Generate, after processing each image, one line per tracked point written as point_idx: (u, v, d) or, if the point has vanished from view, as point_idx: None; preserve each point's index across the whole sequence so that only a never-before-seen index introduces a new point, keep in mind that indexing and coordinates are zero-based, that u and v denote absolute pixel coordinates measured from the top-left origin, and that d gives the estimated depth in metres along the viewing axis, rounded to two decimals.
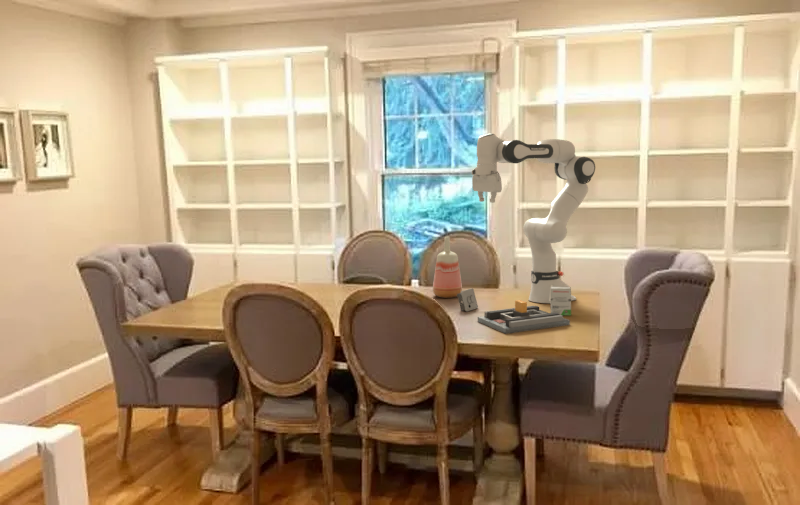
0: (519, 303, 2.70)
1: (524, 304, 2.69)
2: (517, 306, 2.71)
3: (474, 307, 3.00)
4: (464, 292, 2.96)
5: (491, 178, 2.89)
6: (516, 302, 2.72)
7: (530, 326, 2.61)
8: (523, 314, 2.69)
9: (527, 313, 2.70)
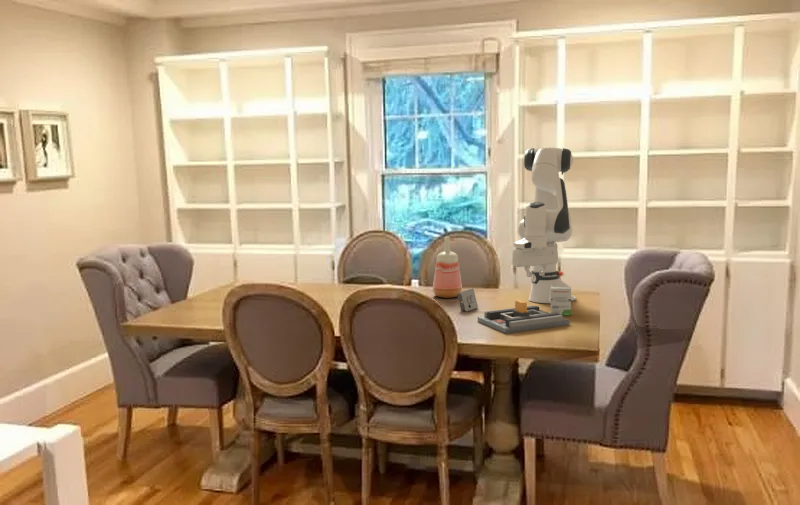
0: (519, 303, 2.70)
1: (524, 304, 2.69)
2: (517, 306, 2.71)
3: (474, 307, 3.00)
4: (464, 292, 2.96)
5: (552, 249, 2.72)
6: (516, 302, 2.72)
7: (530, 326, 2.61)
8: (523, 314, 2.69)
9: (527, 313, 2.70)
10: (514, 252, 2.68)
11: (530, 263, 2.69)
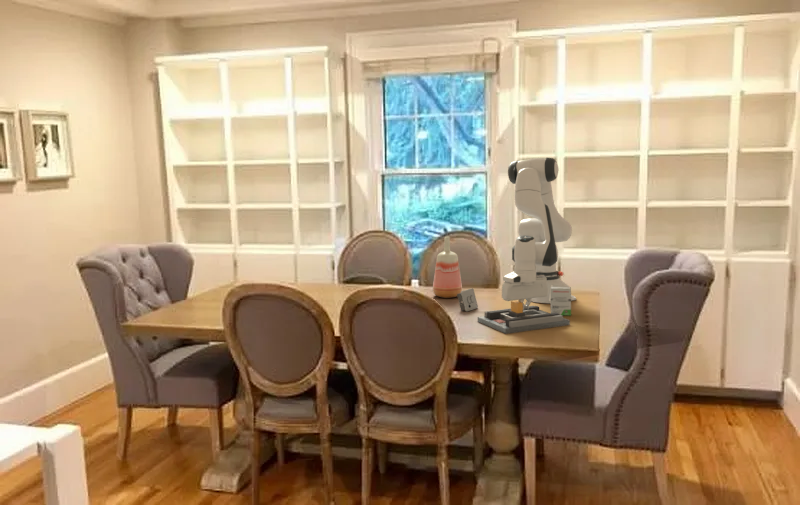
0: (515, 304, 2.69)
1: (520, 305, 2.68)
2: (513, 306, 2.71)
3: (474, 307, 3.00)
4: (464, 292, 2.96)
5: (542, 282, 2.72)
6: (512, 303, 2.71)
7: (530, 326, 2.61)
8: (519, 315, 2.68)
9: (523, 314, 2.69)
10: (503, 286, 2.68)
11: (519, 297, 2.68)
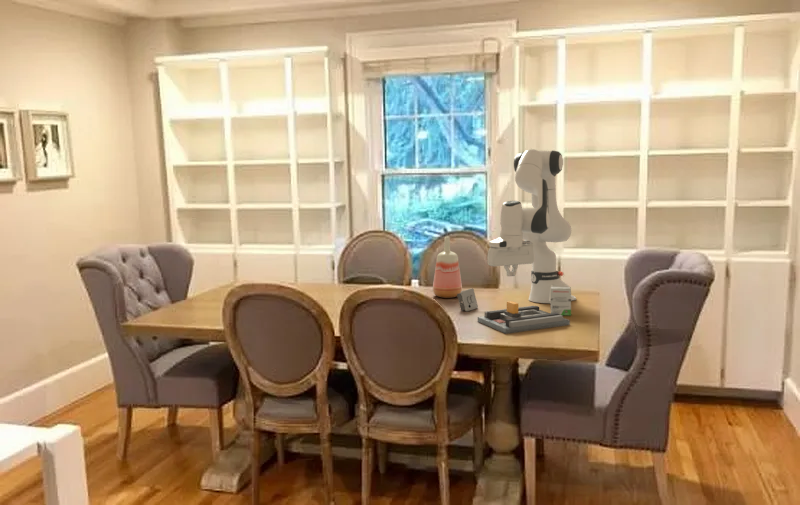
0: (510, 304, 2.69)
1: (515, 305, 2.68)
2: (509, 307, 2.70)
3: (474, 307, 3.00)
4: (464, 292, 2.96)
5: (528, 249, 2.67)
6: (508, 303, 2.71)
7: (530, 326, 2.61)
8: (515, 315, 2.67)
9: (518, 314, 2.68)
10: (489, 251, 2.63)
11: (505, 262, 2.63)
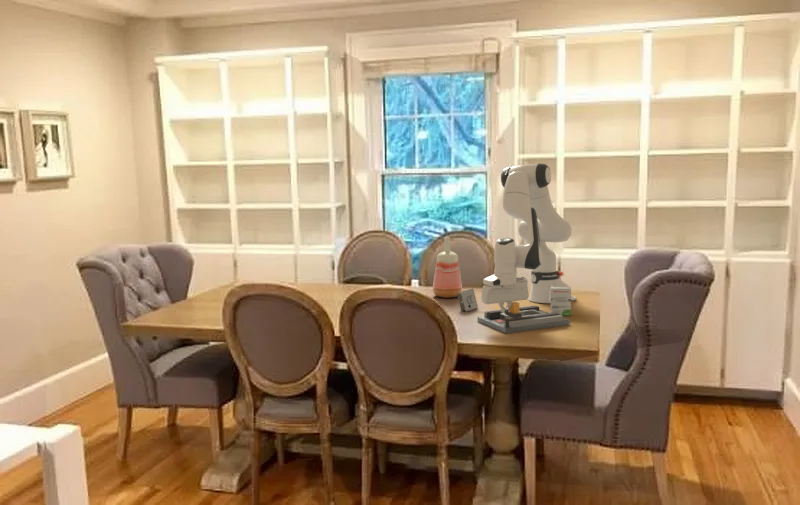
0: None
1: (516, 305, 2.68)
2: (510, 307, 2.70)
3: (474, 307, 3.00)
4: (464, 292, 2.96)
5: (522, 285, 2.69)
6: None
7: (530, 326, 2.61)
8: (516, 315, 2.67)
9: (519, 314, 2.68)
10: (483, 289, 2.65)
11: (499, 300, 2.65)
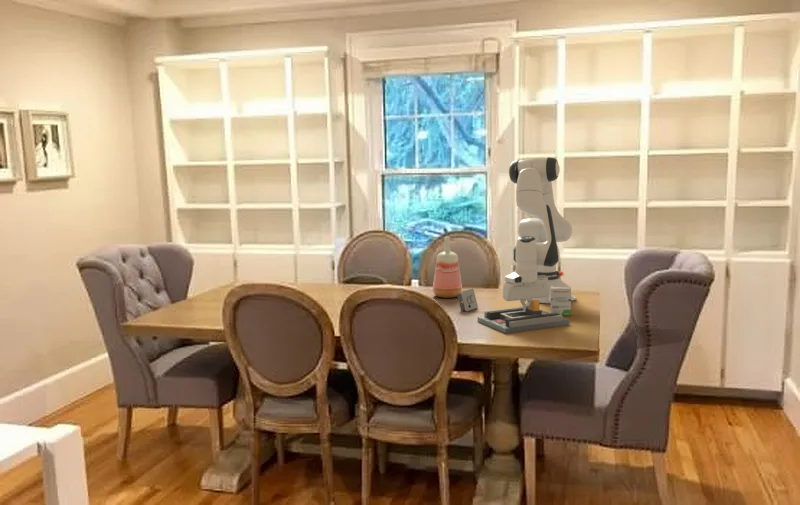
0: (532, 301, 2.72)
1: (537, 302, 2.71)
2: (530, 304, 2.74)
3: (474, 307, 3.00)
4: (464, 292, 2.96)
5: (543, 283, 2.72)
6: None
7: (530, 326, 2.61)
8: (536, 313, 2.71)
9: (540, 311, 2.72)
10: (504, 286, 2.69)
11: (520, 297, 2.69)
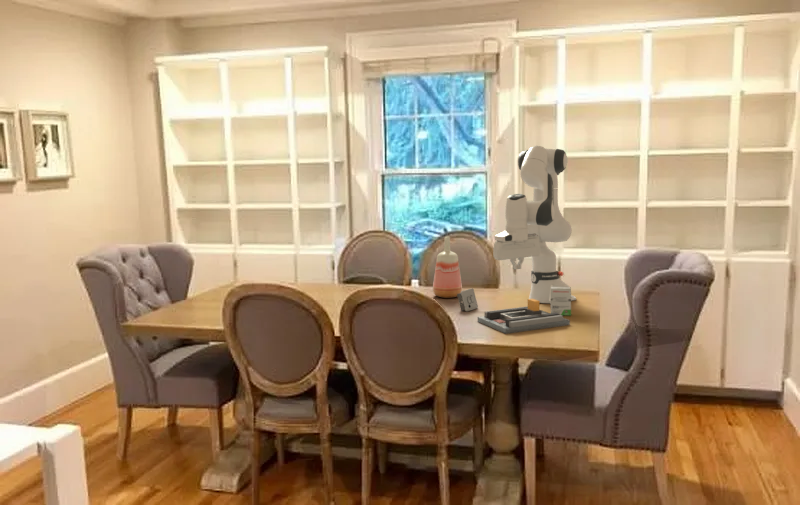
0: (532, 301, 2.72)
1: (537, 302, 2.71)
2: (530, 304, 2.74)
3: (474, 307, 3.00)
4: (464, 292, 2.96)
5: (534, 241, 2.68)
6: (529, 301, 2.74)
7: (530, 326, 2.61)
8: (536, 313, 2.71)
9: (540, 311, 2.72)
10: (495, 245, 2.64)
11: (511, 256, 2.65)
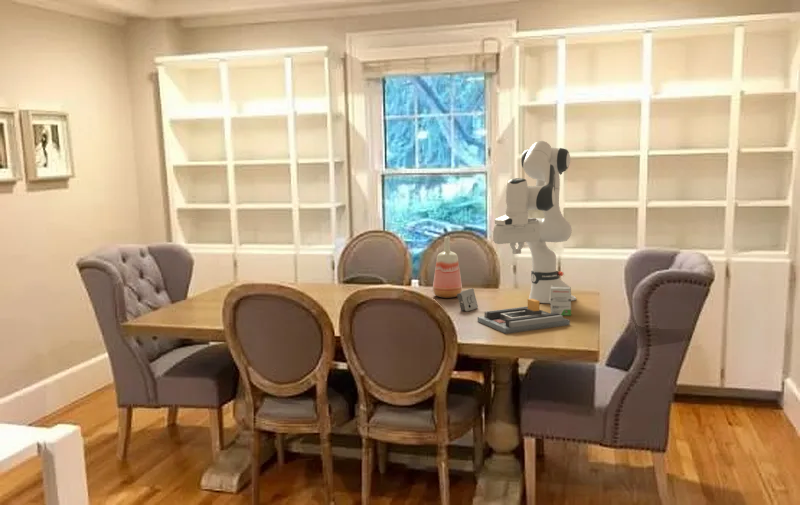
0: (532, 301, 2.72)
1: (537, 302, 2.71)
2: (530, 304, 2.74)
3: (474, 307, 3.00)
4: (464, 292, 2.96)
5: (534, 226, 2.67)
6: (529, 301, 2.74)
7: (530, 326, 2.61)
8: (536, 313, 2.71)
9: (540, 311, 2.72)
10: (495, 229, 2.64)
11: (511, 240, 2.64)
